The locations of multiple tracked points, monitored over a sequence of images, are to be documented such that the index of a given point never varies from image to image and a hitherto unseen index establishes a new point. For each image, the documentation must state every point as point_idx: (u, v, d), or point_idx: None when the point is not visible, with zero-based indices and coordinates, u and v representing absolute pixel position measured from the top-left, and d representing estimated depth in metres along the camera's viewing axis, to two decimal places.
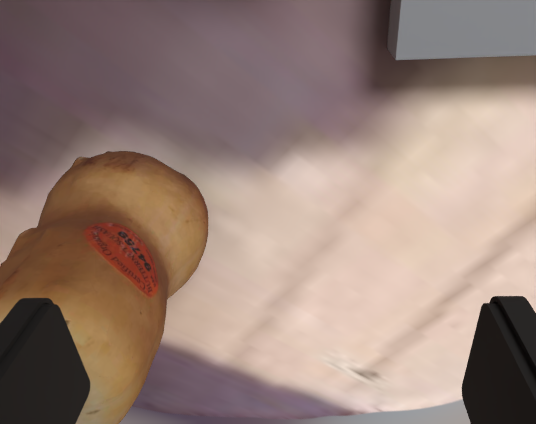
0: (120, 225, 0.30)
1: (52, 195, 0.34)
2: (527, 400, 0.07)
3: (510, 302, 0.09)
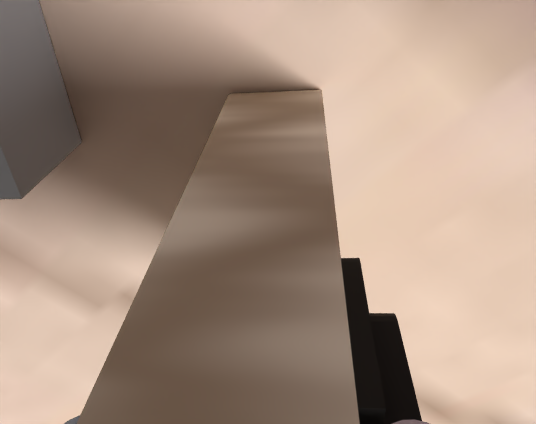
0: None
1: None
2: None
3: (344, 262, 0.10)
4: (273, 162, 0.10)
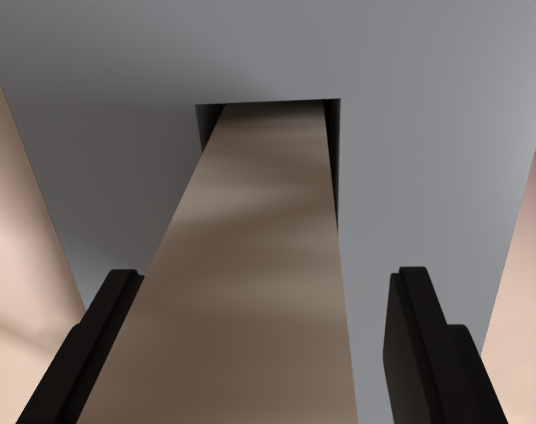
0: None
1: None
2: (410, 352, 0.08)
3: (411, 271, 0.09)
4: (276, 146, 0.11)
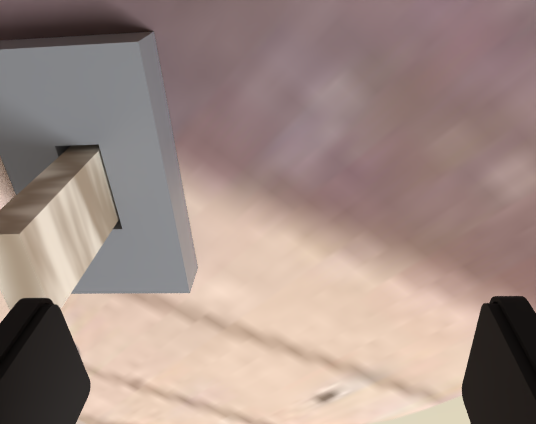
0: None
1: None
2: (527, 400, 0.07)
3: (510, 302, 0.09)
4: (75, 159, 0.36)
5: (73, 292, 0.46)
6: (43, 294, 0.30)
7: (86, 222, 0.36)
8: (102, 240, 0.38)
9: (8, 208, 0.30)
